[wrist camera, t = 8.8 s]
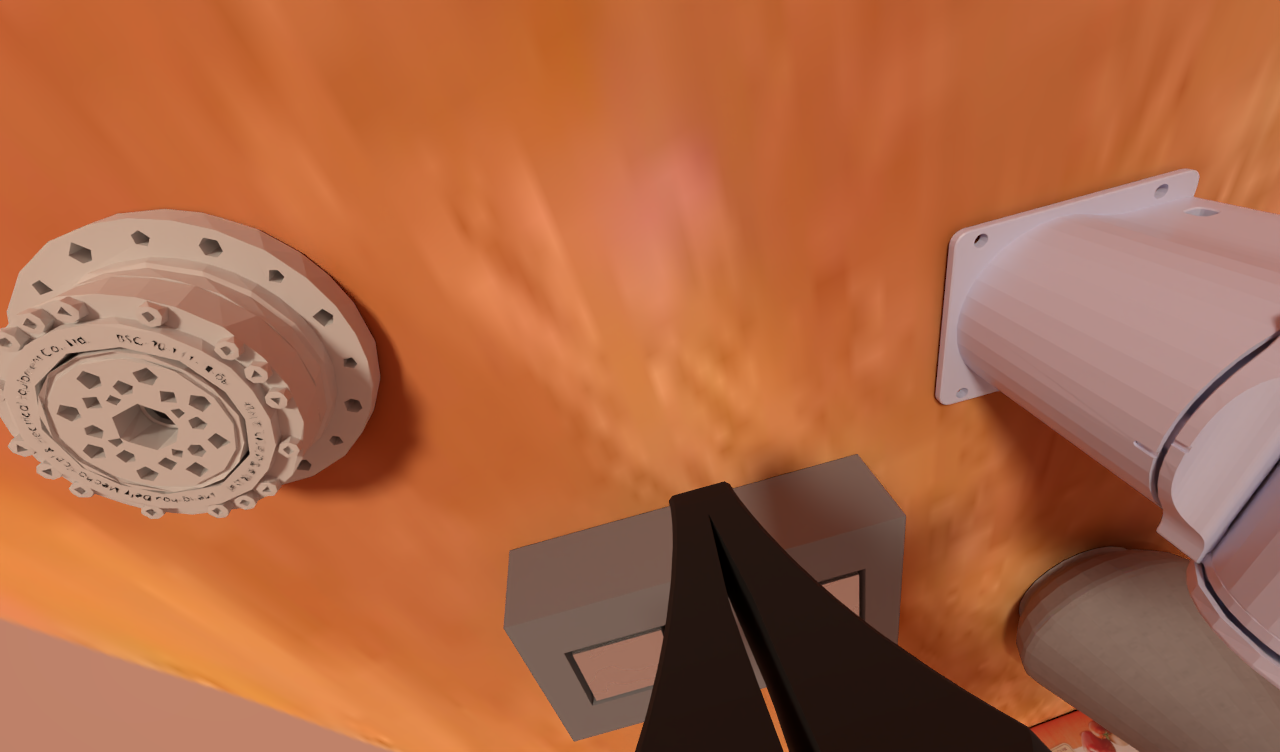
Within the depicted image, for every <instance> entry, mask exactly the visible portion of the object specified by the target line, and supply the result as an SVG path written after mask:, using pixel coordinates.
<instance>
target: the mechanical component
mask: <svg viewBox="0 0 1280 752" xmlns="http://www.w3.org/2000/svg"><path fill="white" fill-rule="evenodd" d="M7 316H8V322H9V324H8V325H7V326H6V327H5V328H1V329H0V417H1V419H2V420H3V422H4V423H5V425H6V427H7V428H8V430H9V431H10V433H11V434H12V435H13V436H14V438H13V439H12V440H11V442H10V443H9V445H8V447H9V448H10V450H11V451H12V452H13V453H15V454H18V455H21V456H24V457H26V456H30V455H33V456H34V457H35V458H36V459H37V460H38V461H39V462H41V463H40V464H39V465H38V466H37V473H38V474H40V475H41V476H43V477H44V478H48V479H57V478H59V477H61V476H62V477H64V478H65V479H67V480H69V481H70V482H72V483H73V484H72V485H71V486H70V488H69V490H70V491H71V492H72V493H73V494H74V495H76V496H78V497H92V496H93V495H94V494H97V495H100V496H103V497H106V498H109V499H112V500H115V501H118V502H121V503H124V504H128V505H132V506H135V507H139V508H142V511H141V513H142V514H143V515H145V516H147V517H149V518H150V519H159V518H160V517H162V516H163V515H164V514H165V513H166V512H171V513H183V514H200V513H208V514H210V515H212V516H214V517H216V518H223V517H226V516H228V514H229V513H230V511H231V509H237V508H242V509H245V510H247V509H251V508H254V507H255V505H256V503H257V501H258V500H260V499H262V498H264V497H266V496H274V495H275V494H276V492H277V491H278V490H279V489H280V488H281V485H283V484H286V483H290V482H293V481H297V480H301V479H304V478H308V477H311V476H314V475H315V474H317V473H318V472H320V471H321V470H323V469H325V468H326V467H328V466H329V465H331V464H332V463H334V462H335V461H337V460H339V459H340V458H342V457H343V456H345V455H346V453H347V452H348V451H349V449H350V448H351V447H352V445H353V444H354V443H355V441H356V440H357V439H358V437H359V436H360V435H361V433H362V432H363V430H364V428H365V426H366V424H367V422H368V420H369V418H370V416H371V415H372V413H373V411H374V408H375V403H376V398H377V393H378V388H379V383H380V371H379V363H378V356H377V349H376V342H375V340H374V338H373V336H372V335H371V333H370V331H369V329H368V327H367V326H366V324H365V322H364V320H363V318H362V317H361V315H360V313H359V311H358V309H357V308H356V306H355V304H354V302H353V301H352V300H351V299H350V298H349V297H348V296H347V295H346V293H345V292H344V291H343V290H342V289H341V288H340V287H339V286H338V285H337V283H336V282H335V281H334V280H333V279H332V278H331V277H330V276H329V275H328V274H327V273H326V272H324V271H323V270H322V269H321V268H319V267H318V266H317V265H316V264H314V263H313V262H312V261H311V260H309V259H308V258H307V257H306V256H304V255H303V254H302V253H300V252H299V251H297V250H295V249H293V248H291V247H289V246H288V245H286V244H284V243H282V242H280V241H278V240H277V239H275V238H273V237H271V236H269V235H267V234H266V233H264V232H262V231H260V230H258V229H255V228H252V227H249V226H245V225H242V224H239V223H236V222H232V221H229V220H226V219H223V218H219V217H216V216H212V215H209V214H205V213H200V212H190V211H181V210H171V209H160V210H150V211H140V212H130V213H120V214H115V215H113V216H110V217H107V218H105V219H102V220H99V221H96V222H94V223H91V224H88V225H86V226H84V227H81V228H79V229H77V230H74V231H72V232H70V233H67V234H65V235H63V236H60V237H58V238H56V239H53V240H51V241H49V242H47V243H46V244H45V245H44V247H43V248H42V249H41V250H40V251H39V252H38V253H37V254H36V255H35V256H34V257H33V258H32V259H31V260H30V261H29V263H28V264H27V265H26V266H25V267H24V268H23V269H22V270H21V271H20V272H19V275H18V278H17V281H16V284H15V287H14V291H13V294H12V297H11V300H10V303H9V307H8V310H7Z"/></svg>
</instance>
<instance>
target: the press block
mask: <svg viewBox="0 0 1280 752" xmlns="http://www.w3.org/2000/svg"><path fill="white" fill-rule="evenodd" d="M733 490H734V491H735V493H736V494H737V496H738V497H739V498H740V500H741V501H742V502H743V504H744V505H745V506H746V507H747V509H748V510H749V511H750V512H751V514H752V515H753V516H754V517H755V518H756V520H757V521H758V522H759V523H760V524H761V525H762V526H763V528H764V529H765V530H766V531H767V532H768V533H769V534H770V535H771V536H772V537H773V538H774V539H775V540H776V541H777V543H778V544H779V545H780V546H781V547H782V548H783V549H784V550H785V551H786V552H787V553H788V554H789V555H790V556H791V557H792V558H793V559H794V560H795V561H796V562H797V563H798V564H799V565H800V566H801V567H802V568H803V569H805V570H806V571H807V572H808V573H809V574H810V575H811V576H812V577H813V578H814V579H815V580H816V581H817V582H820V581H823V580H827V579H831V578H834V577H838V576H841V575H845V574H848V573H852V572H856V571H857V572H858V574H859V617H860V618H862V619H863V620H864V621H866V622H867V623H868V624H869V625H871V626H872V627H873V628H875V629H876V630H877V631H879V632H880V633H881V634H883V635H884V636H885V637H887V638H888V639H890V640H891V641H893V642H894V643H895V644H897V645H898V631H899V616H900V600H901V585H902V570H903V555H904V539H905V524H906V515H905V514H904V513H903V511H902V510H901V509H900V507H899V506H898V505H897V504H896V502H895V501H894V500H893V499H892V497H891V496H890V495H889V494H888V492H887V491H886V490H885V489H884V487H883V486H882V485H881V483H880V482H879V481H878V480H877V478H876V477H875V476H874V475H873V473H872V472H871V471H870V470H869V468H868V467H867V466H866V464H865V463H864V462H863V461H862V459H861V458H860V457H859V456H858V454H856V455H852V456H849V457H845V458H841V459H838V460H834V461H831V462H827V463H823V464H820V465H816V466H813V467H809V468H805V469H802V470H798V471H795V472H791V473H787V474H784V475H780V476H777V477H773V478H770V479H766V480H762V481H759V482H755V483H752V484H748V485H744V486H741V487H737V488H734V489H733ZM672 550H673V532H672V517H671V509H670V506H669V507H665V508H662V509H658V510H654V511H651V512H647V513H644V514H640V515H636V516H633V517H629V518H626V519H622V520H618V521H615V522H611V523H608V524H604V525H600V526H597V527H593V528H590V529H586V530H582V531H579V532H575V533H572V534H568V535H564V536H561V537H557V538H554V539H550V540H546V541H543V542H539V543H536V544H532V545H528V546H525V547H521V548H518V549H514V550H510V552H509V565H508V578H507V591H506V604H505V617H504V630H505V631H506V633H507V635H508V636H509V638H510V639H511V641H512V643H513V644H514V646H515V647H516V649H517V651H518V652H519V654H520V655H521V657H522V659H523V660H524V662H525V663H526V665H527V667H528V668H529V670H530V672H531V673H532V675H533V676H534V678H535V680H536V681H537V683H538V684H539V686H540V688H541V689H542V691H543V692H544V694H545V696H546V697H547V699H548V701H549V702H550V704H551V705H552V707H553V709H554V710H555V712H556V713H557V715H558V717H559V718H560V720H561V721H562V723H563V725H564V726H565V728H566V729H567V731H568V733H569V734H570V736H571V738H572V739H573V741H578V740H581V739H585V738H589V737H592V736H596V735H599V734H603V733H606V732H610V731H613V730H617V729H620V728H624V727H627V726H631V725H635V724H638V723H642V722H644V721H645V717H646V713H647V709H648V705H649V702H650V698H651V693H652V689H653V685H651V686H648V687H644V688H640V689H637V690H633V691H630V692H626V693H623V694H619V695H616V696H612V697H609V698H605V699H601V700H598V701H596V699H595V697H594V695H593V693H592V691H591V689H590V687H589V685H588V683H587V681H586V680H585V678H584V676H583V674H582V672H581V670H580V668H579V666H578V664H577V662H576V661H575V659H574V657H573V654H572V651H574V650H578V649H581V648H585V647H588V646H592V645H595V644H599V643H603V642H606V641H610V640H613V639H617V638H620V637H624V636H628V635H631V634H635V633H638V632H642V631H645V630H649V629H652V628H656V627H660V626H663V625H665V624H666V617H667V609H668V601H669V592H670V584H671V569H672ZM729 602H730V600H729ZM730 605H731V602H730ZM731 609H732V612H733V615H734V618H735V621H736V623H737V626H738V629H739V632H740V635H741V637H742V640H743V643H744V646H745V649H746V651H747V654H748V657H749V660H750V662H751V665H752V668H753V671H754V673H755V676H756V679H757V682H758V684H759V687H760V689H762V688H765V687H766V684H765V682H764V679H763V677H762V675H761V672H760V670H759V668H758V665H757V663H756V661H755V658H754V656H753V654H752V651H751V649H750V647H749V644H748V642H747V640H746V637H745V635H744V633H743V630H742V628H741V626H740V623H739V621H738V619H737V616H736V614H735V612H734V609H733V607H732V605H731Z"/></svg>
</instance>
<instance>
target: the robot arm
mask: <svg viewBox="0 0 1280 752" xmlns="http://www.w3.org/2000/svg"><path fill="white" fill-rule="evenodd" d="M1198 182H1199V173H1198V172H1197V171H1196V170H1192V169H1180V170H1176V171H1172V172H1169V173H1165V174H1161V175H1158V176H1154V177H1150V178H1147V179H1143V180H1139V181H1136V182H1132V183H1128V184H1125V185H1121V186H1117V187H1114V188H1110V189H1106V190H1103V191H1099V192H1095V193H1092V194H1088V195H1084V196H1081V197H1077V198H1073V199H1070V200H1066V201H1063V202H1059V203H1055V204H1052V205H1048V206H1044V207H1041V208H1037V209H1033V210H1030V211H1026V212H1022V213H1019V214H1015V215H1011V216H1008V217H1004V218H1000V219H997V220H993V221H989V222H986V223H982V224H978V225H975V226H971V227H967V228H964V229H961V230H959V231H958V232H957V233H955V234H954V235H953V237H952V238H951V240H950V244H949V252H948V263H947V274H946V285H945V296H944V307H943V318H942V328H941V339H940V350H939V361H938V372H937V383H936V394H935V396H936V399H937V400H938V401H939V402H940V403H942V404H944V405H949V404H953V403H957V402H960V401H964V400H967V399H971V398H975V397H978V396H982V395H985V394H989V393H993V392H996V391H1001V392H1002V393H1004V394H1005V395H1006V396H1008V397H1009V398H1010V399H1012V400H1013V401H1015V402H1016V403H1017V404H1019V405H1020V406H1021V407H1023V408H1024V409H1026V410H1027V411H1028V412H1030V413H1031V414H1032V415H1034V416H1035V417H1037V418H1038V419H1039V420H1041V421H1042V422H1043V423H1045V424H1046V425H1048V426H1049V427H1050V428H1052V429H1053V430H1054V431H1056V432H1057V433H1059V434H1060V435H1061V436H1063V437H1064V438H1065V439H1067V440H1068V441H1070V442H1071V443H1072V444H1074V445H1075V446H1076V447H1078V448H1079V449H1081V450H1082V451H1083V452H1085V453H1086V454H1087V455H1089V456H1090V457H1092V458H1093V459H1094V460H1096V461H1097V462H1098V463H1100V464H1101V465H1103V466H1104V467H1105V468H1107V469H1108V470H1109V471H1111V472H1112V473H1114V474H1115V475H1116V476H1118V477H1119V478H1120V479H1122V480H1123V481H1125V482H1126V483H1127V484H1129V485H1130V486H1131V487H1133V488H1134V489H1136V490H1137V491H1138V492H1140V493H1141V494H1143V495H1144V496H1145V497H1147V498H1148V499H1149V500H1151V501H1152V502H1154V503H1155V504H1156V505H1158V506H1159V507H1160V508H1162V509H1163V516H1162V519H1161V522H1160V524H1159V525H1158V527H1157V529H1156V532H1157V533H1159V534H1160V535H1161V536H1162V537H1164V538H1165V539H1166V540H1168V541H1169V542H1170V543H1171V544H1173V545H1174V546H1175V547H1177V548H1178V549H1179V550H1181V551H1182V552H1183V553H1184V554H1186V555H1187V556H1188V557H1190V558H1191V560H1190V562H1189V565H1188V567H1187V571H1186V583H1187V587H1188V590H1189V593H1190V597H1191V598H1192V600H1193V602H1194V604H1195V606H1196V608H1197V610H1198V611H1199V613H1200V614H1201V616H1202V617H1203V618H1204V620H1205V621H1206V622H1207V624H1208V625H1209V626H1210V628H1211V629H1212V630H1213V631H1214V632H1215V633H1216V634H1217V635H1218V637H1219V638H1220V639H1221V640H1222V641H1223V642H1224V643H1225V644H1226V645H1227V646H1228V647H1229V648H1230V649H1231V650H1232V651H1233V652H1234V653H1235V654H1236V655H1237V656H1239V657H1240V658H1241V659H1242V660H1243V661H1244V662H1245V663H1246V664H1247V665H1249V666H1250V667H1251V668H1252V669H1253V670H1255V671H1256V672H1257V673H1258V674H1260V675H1261V676H1262V677H1263V678H1265V679H1266V680H1267V681H1268V682H1270V683H1271V684H1272V685H1274V686H1275V687H1276V688H1278V689H1279V690H1280V215H1278V214H1273V213H1269V212H1264V211H1259V210H1254V209H1249V208H1245V207H1240V206H1235V205H1230V204H1225V203H1221V202H1216V201H1211V200H1206V199H1201V198H1197V197H1194V194H1195V191H1196V188H1197V185H1198ZM1156 189H1157V190H1156ZM1155 191H1156V192H1155ZM979 235H981V236H980V239H979V240H978V241H977V243H975V244H974V242H975V239H976V238H977V237H978V236H979ZM960 389H961V390H960ZM959 390H960V391H959ZM958 391H959V392H958ZM669 504H670V509H671V517H672V532H673V550H672V569H671V584H670V592H669V601H668V609H667V617H666V624H665V630H664V636H663V642H662V647H661V652H660V658H659V663H658V667H657V672H656V676H655V680H654V685H653V689H652V693H651V698H650V702H649V705H648V709H647V713H646V717H645V721H644V724H643V727H642V731H641V734H640V737H639V741H638V744H637V747H636V751H635V752H783V749H782V746H781V744H780V741H779V738H778V736H777V733H776V730H775V728H774V725H773V722H772V720H771V717H770V714H769V712H768V709H767V706H766V703H765V701H764V698H763V695H762V693H761V690H760V687H759V684H758V682H757V679H756V676H755V673H754V671H753V668H752V665H751V662H750V660H749V657H748V654H747V651H746V649H745V646H744V643H743V640H742V637H741V635H740V632H739V629H738V626H737V623H736V621H735V618H734V615H733V612H732V609H731V605H732V607H733V609H734V612H735V614H736V616H737V619H738V621H739V623H740V626H741V628H742V630H743V633H744V635H745V637H746V640H747V642H748V644H749V647H750V649H751V651H752V654H753V656H754V658H755V661H756V663H757V665H758V668H759V670H760V672H761V675H762V677H763V679H764V682H765V684H766V687H767V689H768V692H769V694H770V697H771V700H772V702H773V705H774V707H775V710H776V713H777V716H778V719H779V722H780V725H781V728H782V731H783V734H784V737H785V740H786V743H787V746H788V749H789V752H1052V751H1051V750H1050V749H1049V748H1048V747H1047V746H1046V745H1045V744H1044V743H1043V742H1042V741H1041V740H1040V739H1039V738H1038V737H1037V735H1036V734H1035V733H1034V732H1033V731H1032V730H1031V729H1030V728H1028V727H1027V726H1025V725H1024V724H1022V723H1020V722H1018V721H1017V720H1015V719H1013V718H1011V717H1010V716H1008V715H1006V714H1005V713H1003V712H1001V711H999V710H998V709H996V708H994V707H992V706H991V705H989V704H987V703H986V702H984V701H982V700H981V699H979V698H977V697H976V696H974V695H972V694H971V693H969V692H967V691H966V690H964V689H963V688H961V687H959V686H958V685H956V684H955V683H953V682H952V681H950V680H949V679H947V678H945V677H944V676H942V675H941V674H939V673H938V672H936V671H934V670H933V669H931V668H930V667H928V666H927V665H925V664H924V663H923V662H921V661H920V660H918V659H917V658H915V657H914V656H913V655H911V654H910V653H908V652H907V651H905V650H904V649H903V648H901V647H900V646H898V645H897V644H895V643H894V642H893V641H891V640H890V639H888V638H887V637H885V636H884V635H883V634H881V633H880V632H879V631H877V630H876V629H875V628H873V627H872V626H871V625H869V624H868V623H867V622H866V621H864V620H863V619H862V618H860V617H859V616H858V615H856V614H855V613H854V612H853V611H852V610H850V609H849V608H848V607H847V606H845V605H844V604H843V603H842V602H841V601H839V600H838V599H837V598H836V597H835V596H833V595H832V594H831V593H830V592H829V591H828V590H826V589H825V588H824V587H823V586H822V585H821V584H820V583H819V582H817V581H816V580H815V579H814V578H813V577H812V576H811V575H810V574H809V573H808V572H807V571H806V570H805V569H803V568H802V567H801V566H800V565H799V564H798V563H797V562H796V561H795V560H794V559H793V558H792V557H791V556H790V555H789V554H788V553H787V552H786V551H785V550H784V549H783V548H782V547H781V546H780V545H779V544H778V543H777V541H776V540H775V539H774V538H773V537H772V536H771V535H770V534H769V533H768V532H767V531H766V530H765V529H764V528H763V526H762V525H761V524H760V523H759V522H758V521H757V520H756V518H755V517H754V516H753V515H752V514H751V512H750V511H749V510H748V509H747V507H746V506H745V505H744V504H743V502H742V501H741V500H740V498H739V497H738V496H737V494H736V493H735V491H734V490H733V489H732V487H731V485H730V484H729V483H726V482H721V483H717V484H714V485H710V486H706V487H703V488H699V489H695V490H692V491H688V492H685V493H681V494H677V495H674V496H672V497H671V499H670V500H669ZM729 600H730V602H731V605H730V602H729Z"/></svg>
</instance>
